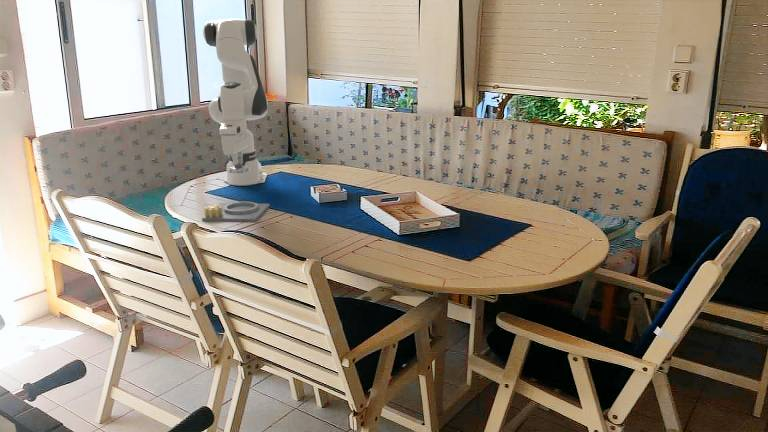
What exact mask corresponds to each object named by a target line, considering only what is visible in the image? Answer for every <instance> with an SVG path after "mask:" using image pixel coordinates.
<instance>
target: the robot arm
mask: <svg viewBox="0 0 768 432" xmlns="http://www.w3.org/2000/svg"><path fill="white" fill-rule="evenodd" d="M258 32H259V30H258V28H257V25H256V24H255V21H254V20H252V19H249V18H245V19H242V18H228V19H227V18H225V19H218V20H214V19H213V20H209V21H208V20H207V21H206V22H205V24H204V26H203V29H202V35H203V39H204V40H205V42H206V44H207V45H209V46H210V47H215V51H216V55H217V59H218V60H219V62H220V63H221V70H222V71H221V73H222V74H221V75H222V80H223V83H222V84H221V85H220V94H219V95H218V96H217V98H213V99H211V101H210V103H209V104H208V113H209V116H210V118H211V119H212V120H213V121H215V123H218V124H219V125H220V127H219V130H218V133H219V135H221V136H220V137H221V138H220V141H221V147H222V154H223V155H224V156H228V160H229V161H228V163H227V164H226V178H225V179H223V182H224V183H226V184H229V185H230V186H231V185H232V186H252V185H257V184H262V183H265V182H266V179H267V176H268V174H267V172H263V170H262V164H261V162H260V161H259V160H258V159H257V149H255V139H254V134H253V132H252V131H250V130H249V129H248V127H247V126H248V125H247V124H248V123H247V121H255V120H259V119H263V118H264V117H266V115H268V111H269V100H268V96H267V94H266V92H265V89H264V86H263V83H262V80H261V76H260V73H259V69H258V65H257V63H256V61H255V58H254V56H253V55H252V54H249V53H248V52H247V50H246V47H245V46H247V48H248V49H249V48H250V46H252V45H254V44H255V43H256V42H257V38H258V34H259V33H258ZM237 156H241V157H242V165H243V166H249V167H250V171H247V172H245V173H228V170H227V168H228V167H232V166H234V165H237V164H239V159H238V157H237Z"/></svg>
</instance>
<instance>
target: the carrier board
mask: <svg viewBox="0 0 768 432" xmlns="http://www.w3.org/2000/svg"><path fill="white" fill-rule="evenodd" d="M270 206H271V205H270V203H257V202H253V201H237V202H220V203H218V204H213V205H210V204H209V205H207V206H204V207H203V211H204V216H203V217H202V218H201V221H203V222H204V221H205V222H208V221H209V222H251V223H255V222H256V221H258V219H259V218H260V217H262V215H263V214H264V213H265V212H266V211H267V210H268V209H269V208H270Z"/></svg>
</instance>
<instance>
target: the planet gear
mask: <svg viewBox="0 0 768 432" xmlns="http://www.w3.org/2000/svg"><path fill="white" fill-rule="evenodd" d="M237 157H238V159H239V164H237V165H234V166H232V167H228V168H227V167H226V171H227V170H228V173H245V172H247V171H250V167H249V166H243V165H242V157H241V156H237Z"/></svg>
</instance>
